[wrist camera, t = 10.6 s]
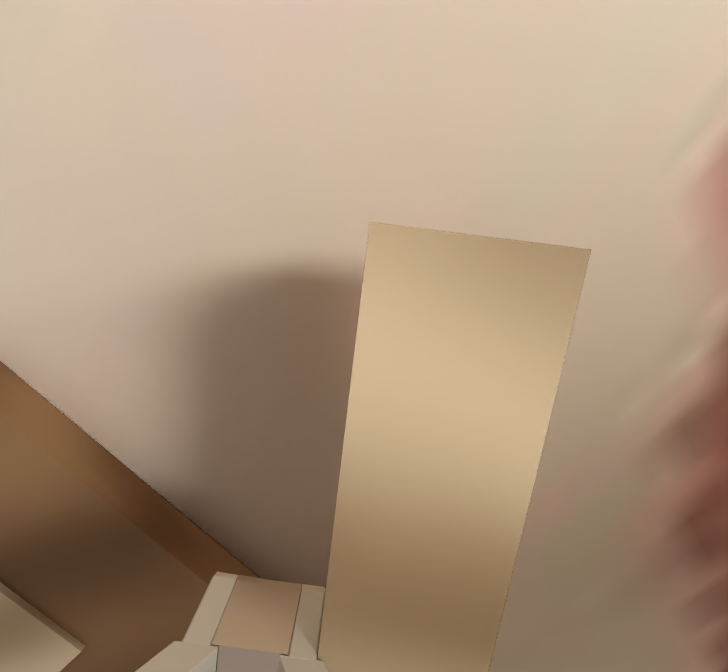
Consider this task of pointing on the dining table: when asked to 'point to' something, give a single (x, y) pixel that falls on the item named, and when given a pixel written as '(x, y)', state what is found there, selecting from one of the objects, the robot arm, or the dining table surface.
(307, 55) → the dining table surface
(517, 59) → the dining table surface
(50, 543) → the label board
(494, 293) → the swing bar
